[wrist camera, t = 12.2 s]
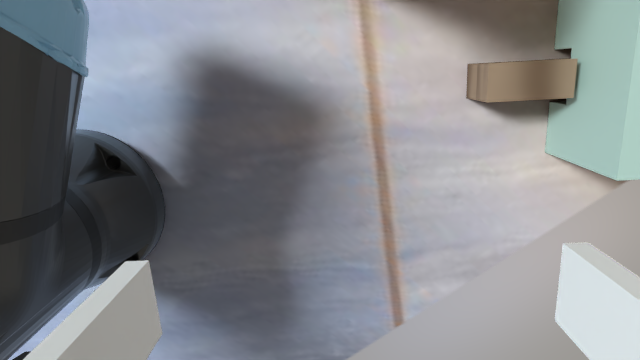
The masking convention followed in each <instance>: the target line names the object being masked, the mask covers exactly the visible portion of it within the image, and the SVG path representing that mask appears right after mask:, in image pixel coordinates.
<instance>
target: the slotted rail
mask: <svg viewBox="0 0 640 360" xmlns="http://www.w3.org/2000/svg"><path fill="white" fill-rule="evenodd" d="M577 61H578V59H571V58H565V59H548V60H530V61H513V62H495V63H478V64H468V72H467V97H466V98H469V99H473V100H478V101H482V102H487V103H488V102H506V101H525V100H544V99H562V98H574V89H575V79H576V70H577Z"/></svg>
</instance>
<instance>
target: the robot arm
mask: <svg viewBox="0 0 640 360" xmlns="http://www.w3.org/2000/svg"><path fill="white" fill-rule="evenodd" d="M88 27H89V14H88V10H87V7H86V5H85V3H84V1H83V0H0V360H8V359H9V358H10V357H11V356H12V355H13V354H14V353H15V352H16V351H17V350H18V349H20V348H21V347H22V346H23V345H24V344H25V343H26V342H27V341H28V340H29V339H30V338H31V337H33V336H34V335H35V334H36V333H37V332H38V331H39V330H40V329H41V328H42V327H43V326H45V325H46V324H47V323H48V322H49V321H50V320H51V319H52V318H53V317H54V316H55V315H57V314H58V313H59V312H60V311H61V310H62V309H63V308H64V307H65V306H66V305H67V304H68V303H70V302H71V301H72V300H73V299H74V298H75V297H76V296H77V295H78V294H79V293H80V292H82V291H83V290H84V289H87V288H90V287H93V286H95V285H98V284H101V283H102V284H101V285H100V286H99V287H98V288H97V289H96V290H95V291H94V292H93V293H92V294H91V295H90V296H89V297H88V298H87V299H86V300H85V301H84V302H83V303H81V304H80V305H79V306H78V307H77V308H76V309H75V310H74V311H73V312H72V313H71V314H70V315H69V316H68V317H67V318H66V319H65V320H64V321H63V322H62V323H61V324H60V325H58V326H57V327H56V328H55V329H54V330H53V331H52V332H51V333H50V334H49V335H48V336H47V337H46V338H45V339H44V340H43V341H42V342H41V343H40V344H39V345H38V346H36V347H35V348H34V349H33V350H32V351H31V352H24V353H22V354H21V355H19V356H18V357H16V358H14V359H13V360H146V359H147V358H148V356H149V355H150V353H151V351H152V350H153V348H154V347H155V345H156V343H157V342H158V340H159V339H160V337H161V335H162V329H161V324H160V318H159V313H158V308H157V302H156V297H155V291H154V286H153V280H152V275H151V269H150V264H149V260H146V261H142V260H143V259H144V258H145V257H146V256H147V255H148V254H149V253H150V252H151V251H152V249H153V248H154V247H155V245H156V244H157V242H158V240H159V238H160V235H161V233H162V229H163V225H164V219H165V206H164V199H163V195H162V191H161V188H160V186H159V183H158V181H157V179H156V177H155V175H154V174H153V172H152V170H151V169H150V168H149V166H148V165H147V164H146V162H145V161H144V160H143V159H142V158H141V157H140V156H139V155H138V154H137V153H136V152H135V151H134V150H132V149H131V148H130V147H128V146H127V145H126V144H124V143H122V142H121V141H119V140H117V139H115V138H113V137H111V136H108V135H106V134H103V133H99V132H95V131H90V130H80V129H77V130H76V127H77V121H78V114H79V108H80V102H81V96H82V90H83V83H84V77H85V76H86V77H87V76H88V68H87V67H86V49H87V38H88ZM555 321H556V323H558V325H559V326H560V327H561V328H562V329H563V330H564V331H565V332H566V334H567V335H568V336H569V337H570V338H571V339H572V341H573V342H574V343H575V344H576V345H577V346H578V347H579V348H580V349H581V350H582V352H583V353H584V354H585V355H586V356H587V357H588V358H589V360H640V277H639V276H637V275H636V274H635V273H633V272H632V271H630V270H629V269H627V268H626V267H624V266H623V265H621V264H620V263H618V262H617V261H615V260H614V259H612V258H611V257H609V256H608V255H606V254H605V253H603V252H602V251H600V250H599V249H597V248H596V247H595V246H593V245H592V244H590V243H588V242H582V243H563V249H562V259H561V267H560V276H559V286H558V295H557V304H556V312H555Z"/></svg>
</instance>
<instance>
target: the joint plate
mask: <svg viewBox="0 0 640 360" xmlns="http://www.w3.org/2000/svg"><path fill="white" fill-rule="evenodd" d="M570 48H572V51H571V59H578V61H577V70H576V79H575V89H574V98H567V101H560V102H550V103H549V114H548V125H547V136H546V148H545V153H548V154H550V155H553V156H556V157H558V158H561V159H563V160H566V161H568V162H571V163H573V164H576V165H578V166H581V167H583V168H586V169H589V170H591V171H594V172H596V173H599V174H601V175H604V176H606V177H609V178H611V179H614V180H616V181H620V180H640V0H559V3H558V14H557V25H556V37H555V48H554V49H570Z"/></svg>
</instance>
